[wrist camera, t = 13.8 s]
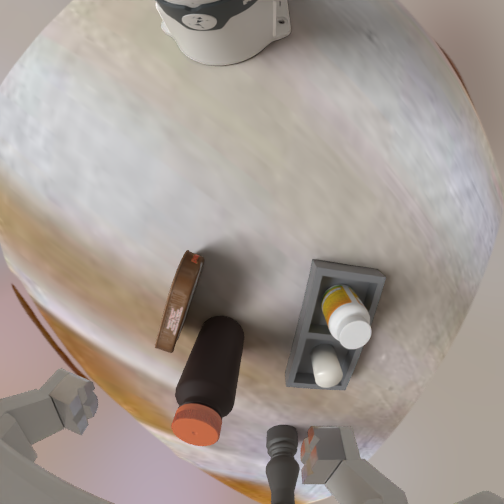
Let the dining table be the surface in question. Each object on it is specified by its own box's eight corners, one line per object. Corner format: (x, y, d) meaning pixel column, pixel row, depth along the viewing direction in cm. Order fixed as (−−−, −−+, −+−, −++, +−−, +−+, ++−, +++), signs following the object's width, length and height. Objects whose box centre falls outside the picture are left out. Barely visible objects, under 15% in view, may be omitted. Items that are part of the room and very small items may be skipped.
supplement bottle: (315, 313, 40) (327, 352, 31) (326, 280, 39) (342, 311, 30) (349, 319, 40) (367, 356, 31) (360, 286, 39) (384, 318, 30)
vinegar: (218, 306, 42) (184, 401, 22) (253, 333, 43) (242, 435, 23) (192, 334, 43) (151, 427, 24) (226, 358, 44) (203, 457, 25)
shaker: (313, 342, 42) (319, 365, 36) (338, 344, 42) (346, 367, 36) (307, 362, 43) (312, 386, 37) (331, 364, 43) (338, 388, 37)
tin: (192, 242, 39) (173, 260, 31) (212, 251, 40) (198, 270, 31) (165, 327, 43) (147, 357, 35) (183, 335, 44) (168, 366, 36)
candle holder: (279, 421, 48) (279, 534, 24) (303, 431, 48) (311, 537, 24) (260, 435, 49) (254, 541, 25) (284, 445, 50) (285, 545, 26)
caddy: (312, 259, 39) (316, 267, 36) (377, 269, 39) (385, 277, 35) (285, 372, 44) (285, 386, 41) (341, 377, 44) (345, 390, 41)
